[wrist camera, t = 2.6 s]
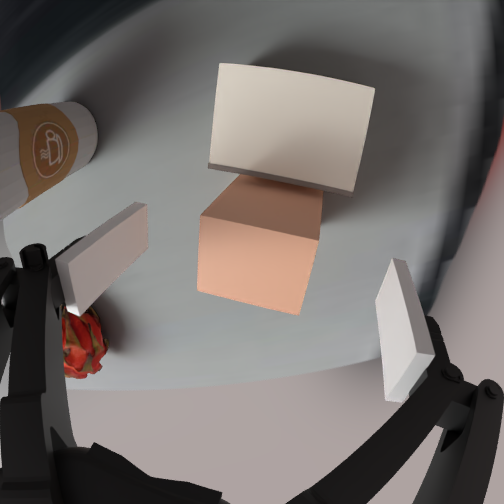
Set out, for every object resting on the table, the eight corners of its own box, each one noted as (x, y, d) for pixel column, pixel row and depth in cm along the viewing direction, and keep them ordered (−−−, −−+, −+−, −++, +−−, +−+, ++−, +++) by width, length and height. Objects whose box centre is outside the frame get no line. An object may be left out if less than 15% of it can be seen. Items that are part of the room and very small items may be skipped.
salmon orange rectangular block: (253, 161, 22) (200, 215, 13) (324, 175, 21) (319, 240, 13) (247, 212, 24) (196, 290, 15) (313, 227, 23) (298, 315, 15)
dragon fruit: (97, 346, 41) (94, 274, 36) (121, 388, 36) (119, 315, 31) (44, 357, 35) (31, 284, 30) (61, 404, 30) (43, 330, 25)
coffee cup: (113, 178, 25) (-26, 269, 12) (51, 178, 27) (-68, 250, 14) (106, 83, 21) (-61, 120, 8) (42, 97, 23) (-93, 141, 10)
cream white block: (243, 67, 19) (218, 62, 14) (365, 89, 18) (376, 88, 13) (233, 150, 22) (207, 168, 18) (348, 173, 21) (352, 197, 16)
